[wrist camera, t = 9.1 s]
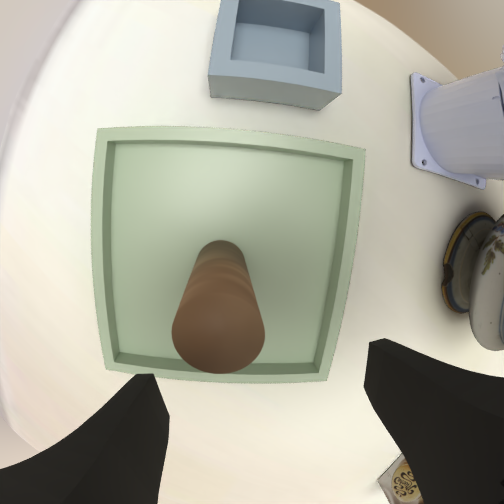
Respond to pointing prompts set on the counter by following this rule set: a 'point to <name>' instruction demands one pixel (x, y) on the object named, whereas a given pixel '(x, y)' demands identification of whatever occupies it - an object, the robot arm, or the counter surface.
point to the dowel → (218, 313)
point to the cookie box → (400, 484)
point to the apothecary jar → (477, 277)
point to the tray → (222, 228)
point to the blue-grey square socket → (277, 52)
